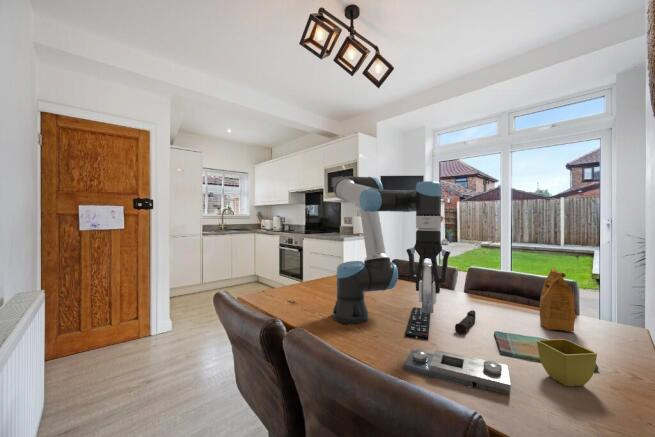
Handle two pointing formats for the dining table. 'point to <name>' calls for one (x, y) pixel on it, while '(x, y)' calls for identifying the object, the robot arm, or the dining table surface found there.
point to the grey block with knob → (473, 371)
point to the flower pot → (567, 361)
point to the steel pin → (427, 288)
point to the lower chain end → (421, 364)
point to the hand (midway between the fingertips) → (427, 301)
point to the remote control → (418, 324)
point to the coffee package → (557, 303)
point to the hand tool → (466, 323)
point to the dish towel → (520, 346)
